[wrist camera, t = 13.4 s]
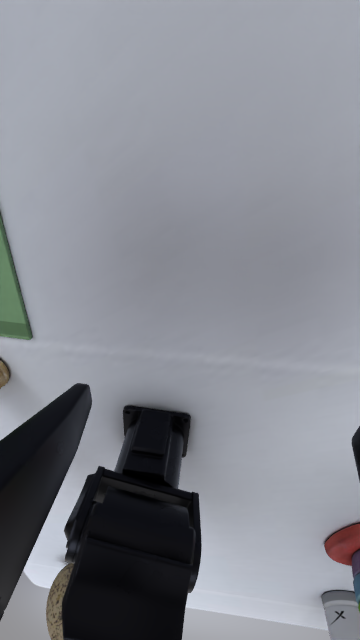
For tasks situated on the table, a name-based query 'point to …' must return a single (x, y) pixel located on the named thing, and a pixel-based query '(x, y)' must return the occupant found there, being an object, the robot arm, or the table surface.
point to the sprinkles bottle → (3, 374)
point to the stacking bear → (347, 552)
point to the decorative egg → (57, 603)
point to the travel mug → (342, 615)
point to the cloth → (11, 296)
